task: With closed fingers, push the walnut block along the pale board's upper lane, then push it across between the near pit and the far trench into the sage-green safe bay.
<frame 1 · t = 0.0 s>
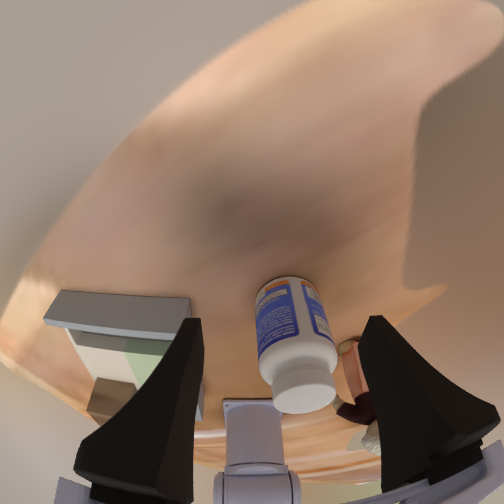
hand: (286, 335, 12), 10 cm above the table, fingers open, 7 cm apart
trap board: (138, 356, 28), on the table
grandmother figurine: (352, 345, 28), on the table
walnut block: (121, 390, 29), point 2 cm above the table, touching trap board
pill bottle: (286, 298, 24), on the table
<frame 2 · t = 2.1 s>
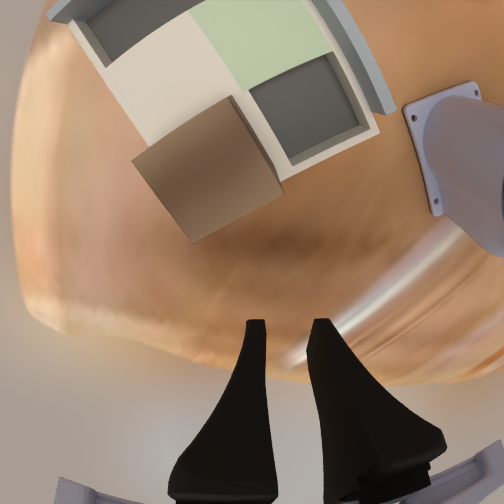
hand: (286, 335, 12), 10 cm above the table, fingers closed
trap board: (222, 54, 14), on the table
walnut block: (216, 151, 16), point 2 cm above the table, touching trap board
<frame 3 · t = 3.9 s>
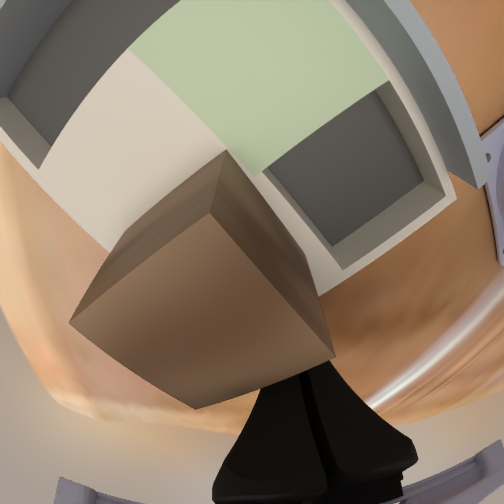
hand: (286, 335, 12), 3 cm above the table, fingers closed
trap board: (207, 105, 10), on the table
walnut block: (213, 241, 10), point 2 cm above the table, touching gripper
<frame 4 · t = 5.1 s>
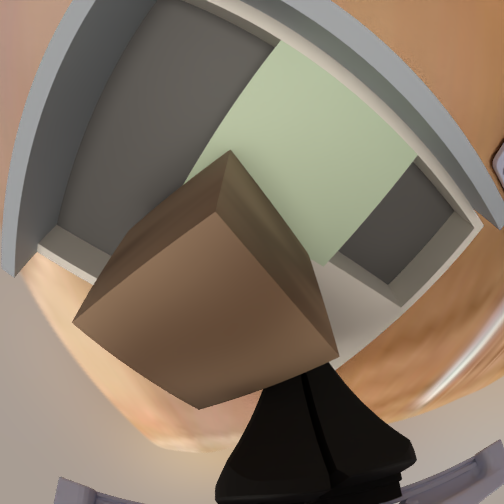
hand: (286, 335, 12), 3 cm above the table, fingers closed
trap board: (264, 205, 12), on the table
walnut block: (217, 241, 10), point 2 cm above the table, touching gripper, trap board
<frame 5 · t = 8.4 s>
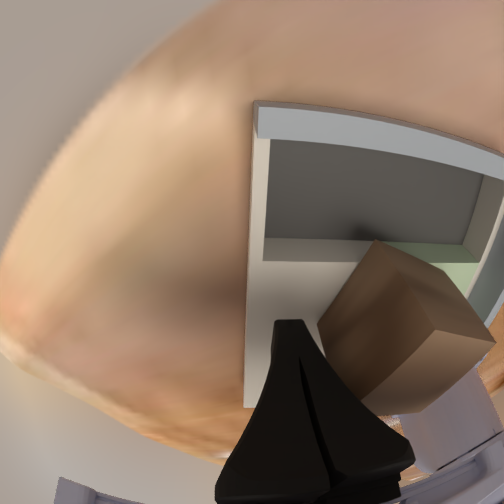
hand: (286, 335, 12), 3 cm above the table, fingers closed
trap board: (365, 292, 15), on the table
walnut block: (384, 297, 12), point 2 cm above the table, touching gripper
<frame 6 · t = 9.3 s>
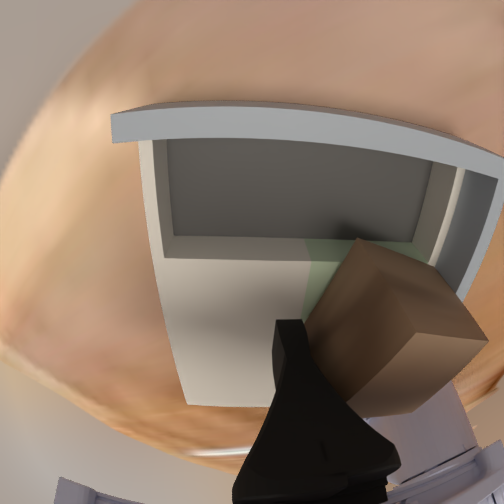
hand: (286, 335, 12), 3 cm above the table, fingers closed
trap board: (297, 293, 15), on the table
walnut block: (371, 296, 12), point 2 cm above the table, touching gripper, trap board
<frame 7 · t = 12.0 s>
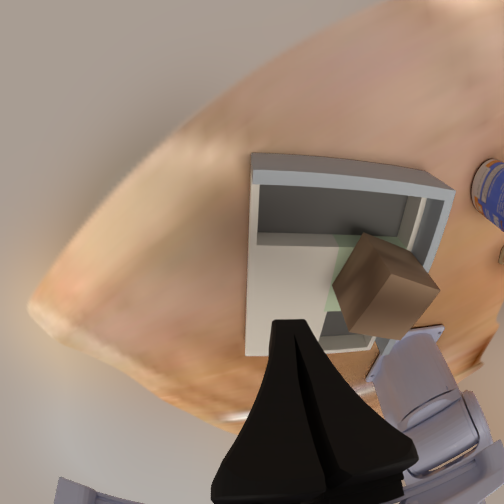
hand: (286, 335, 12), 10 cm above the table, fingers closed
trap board: (326, 269, 23), on the table
walnut block: (372, 268, 20), point 2 cm above the table, touching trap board
pill bottle: (487, 184, 19), on the table
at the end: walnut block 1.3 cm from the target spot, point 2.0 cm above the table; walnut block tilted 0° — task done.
